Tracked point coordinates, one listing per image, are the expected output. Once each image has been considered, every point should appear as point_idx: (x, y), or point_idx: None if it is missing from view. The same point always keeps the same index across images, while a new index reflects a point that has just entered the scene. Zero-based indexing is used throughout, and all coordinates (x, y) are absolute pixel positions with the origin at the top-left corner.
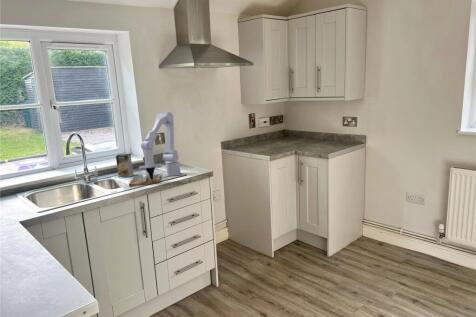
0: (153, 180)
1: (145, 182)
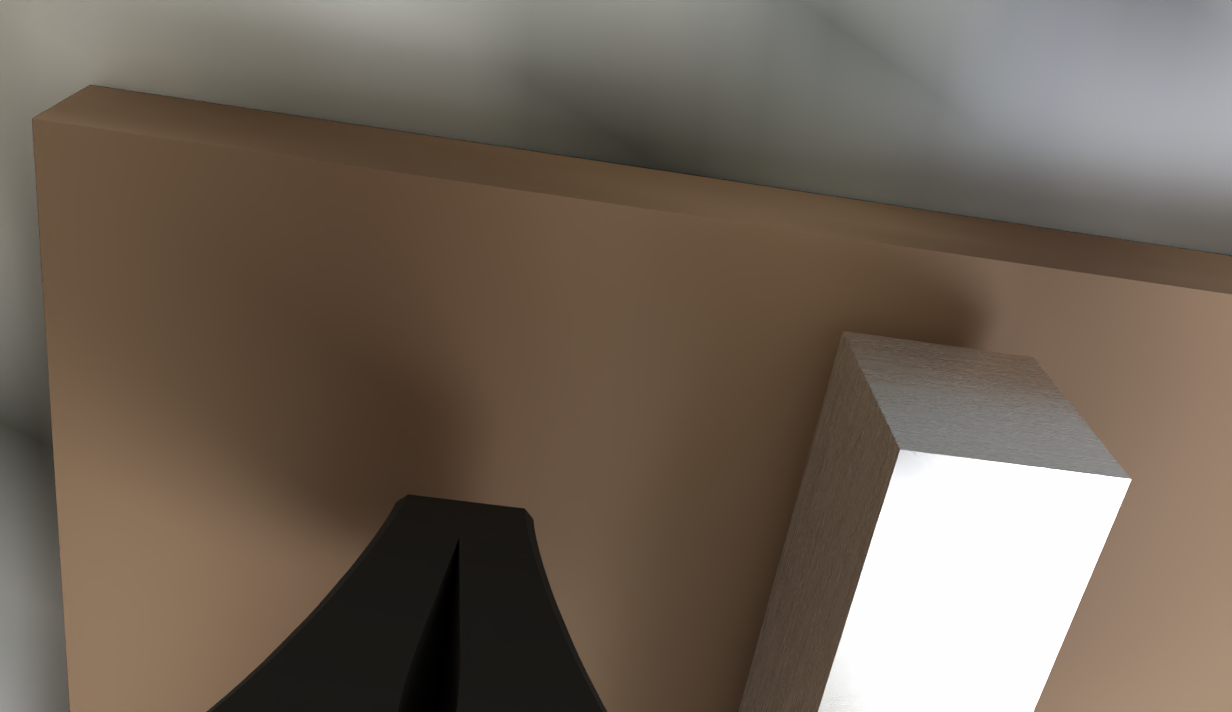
0: (388, 469)
1: (883, 281)
